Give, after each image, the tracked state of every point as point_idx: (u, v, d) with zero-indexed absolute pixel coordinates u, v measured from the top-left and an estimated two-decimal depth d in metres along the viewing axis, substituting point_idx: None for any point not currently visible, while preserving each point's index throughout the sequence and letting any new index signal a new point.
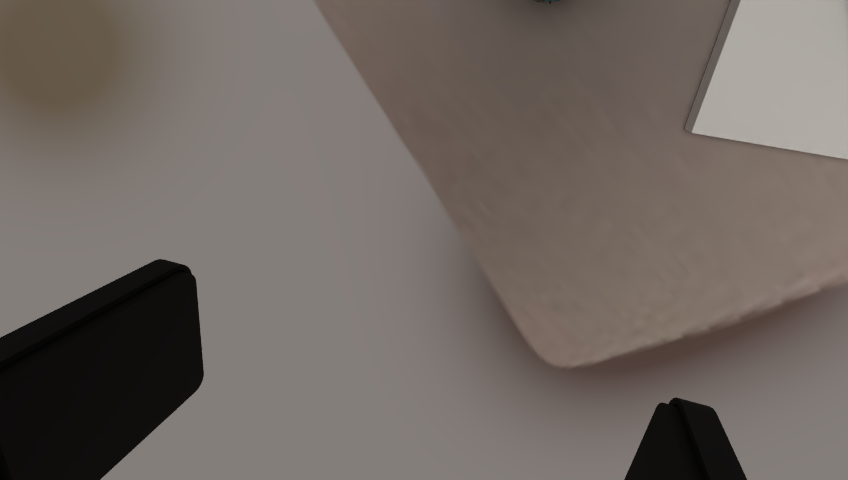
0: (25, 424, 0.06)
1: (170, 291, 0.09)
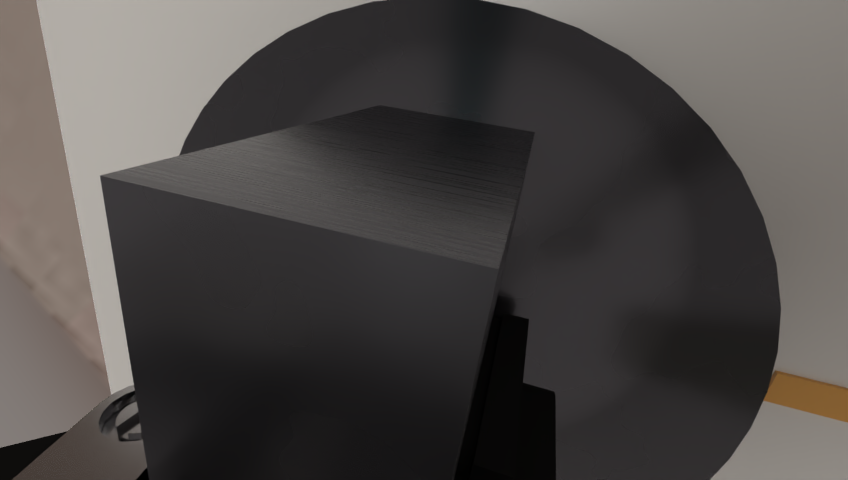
0: None
1: None
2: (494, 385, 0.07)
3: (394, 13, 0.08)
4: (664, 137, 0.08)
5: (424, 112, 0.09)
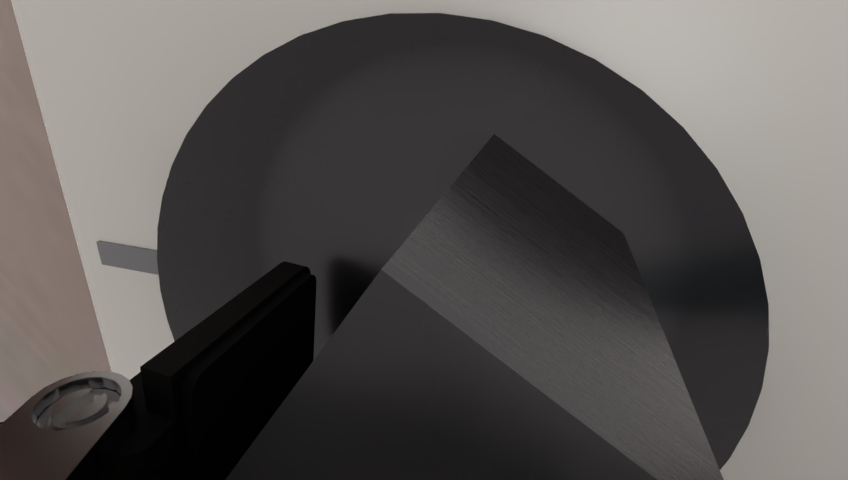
0: (210, 413, 0.07)
1: (301, 291, 0.09)
2: None
3: (560, 59, 0.08)
4: (727, 293, 0.08)
5: (532, 163, 0.08)
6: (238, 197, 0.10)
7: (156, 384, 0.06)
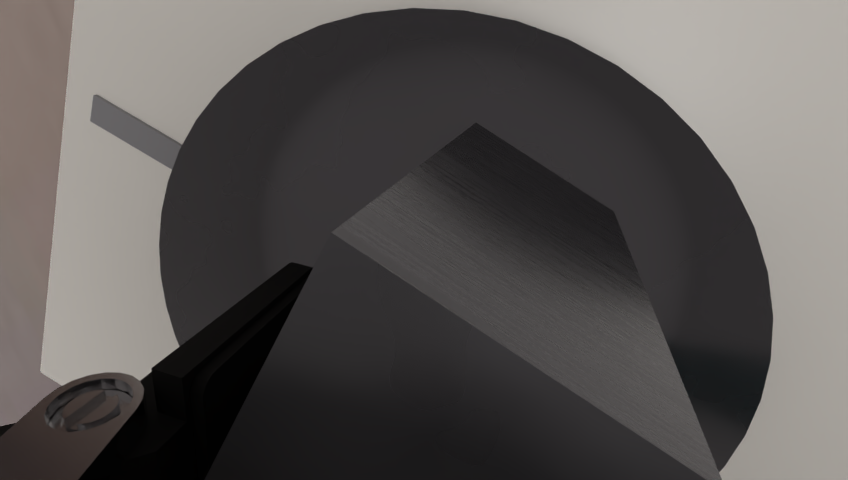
0: (220, 414, 0.07)
1: None
2: None
3: (533, 42, 0.08)
4: (725, 264, 0.08)
5: (516, 148, 0.08)
6: (233, 207, 0.10)
7: (167, 385, 0.06)
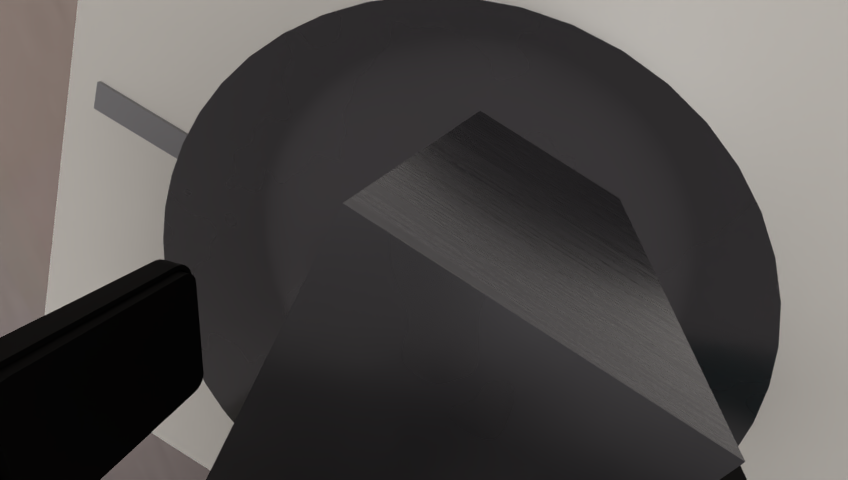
0: (25, 424, 0.06)
1: (170, 291, 0.09)
2: None
3: (537, 28, 0.08)
4: (732, 249, 0.08)
5: (521, 136, 0.08)
6: (237, 200, 0.10)
7: None
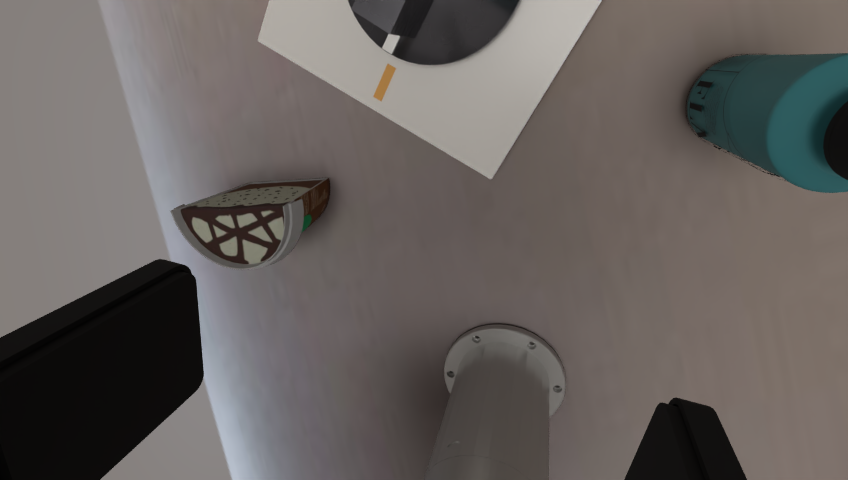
0: (25, 424, 0.06)
1: (170, 291, 0.09)
2: None
3: None
4: None
5: None
6: None
7: None
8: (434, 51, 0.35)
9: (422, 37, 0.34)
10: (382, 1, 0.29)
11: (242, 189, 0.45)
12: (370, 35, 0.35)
